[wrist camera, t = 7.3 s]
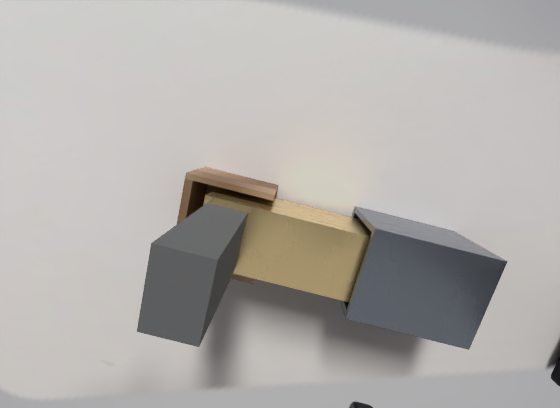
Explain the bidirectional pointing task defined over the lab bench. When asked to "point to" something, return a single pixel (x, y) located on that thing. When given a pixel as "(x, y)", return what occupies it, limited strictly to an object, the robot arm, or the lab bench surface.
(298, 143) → the lab bench surface
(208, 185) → the socket
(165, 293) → the grey and tan block
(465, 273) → the grey end cap
